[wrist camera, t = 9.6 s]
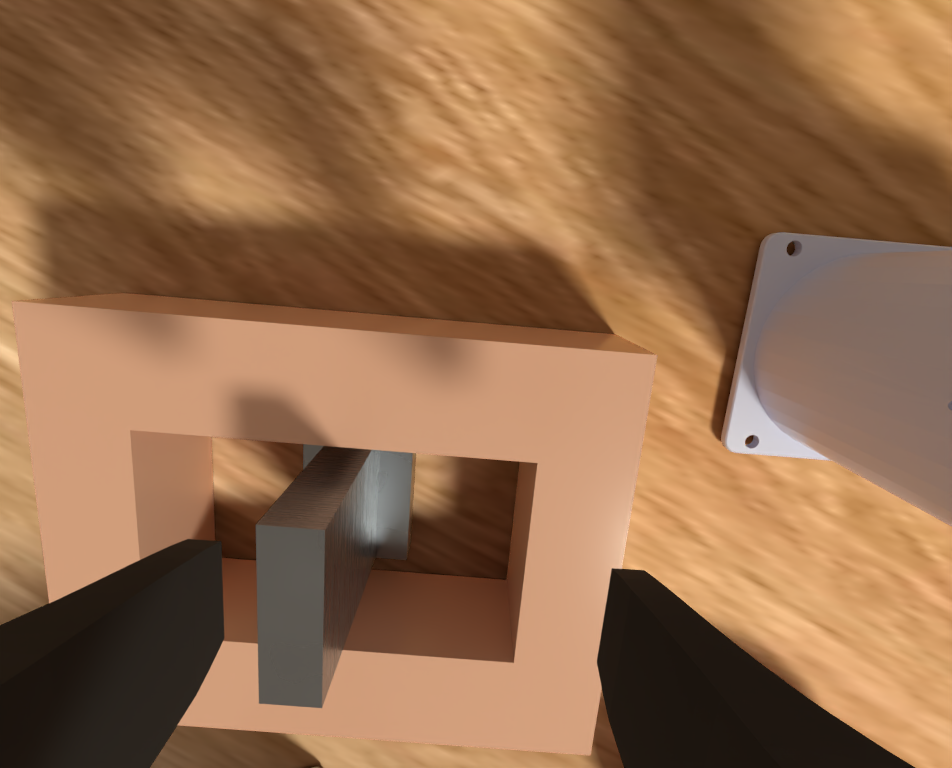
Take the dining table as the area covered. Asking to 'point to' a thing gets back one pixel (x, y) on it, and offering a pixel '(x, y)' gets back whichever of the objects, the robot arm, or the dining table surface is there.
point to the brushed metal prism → (324, 563)
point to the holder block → (363, 427)
